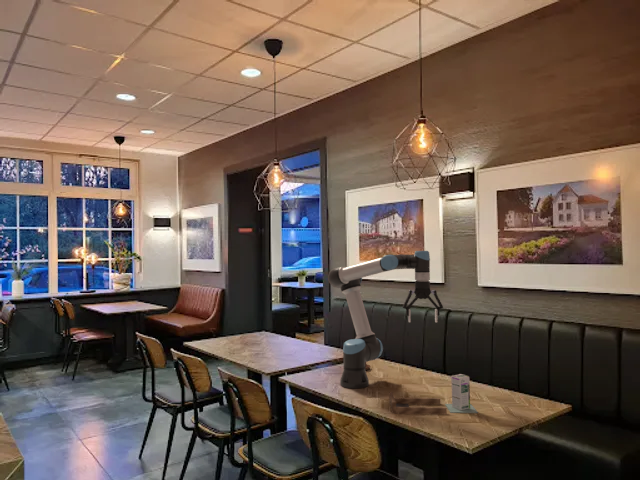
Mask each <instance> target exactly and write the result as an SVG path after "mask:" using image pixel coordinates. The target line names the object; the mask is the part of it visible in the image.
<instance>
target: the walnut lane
mask: <svg viewBox="0 0 640 480" xmlns="http://www.w3.org/2000/svg"><path fill="white" fill-rule="evenodd" d="M388 397H389V398H388V400H389V401H388V403H389V406H390V409H391V413H392V414H399V415H402V414H407V415H408V414H409V415H410V414H411V415H412V414H413V415H417V414H418V415H419V414H420V415H447V410H448V408H447V407H446V406H410V405H441V398H440V397H395V396H394V392H391V391H390V392H389V393H388Z"/></svg>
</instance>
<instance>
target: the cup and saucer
mask: <svg viewBox="0 0 640 480" xmlns="http://www.w3.org/2000/svg"><path fill="white" fill-rule="evenodd" d="M370 368H371V365H369V364H367V362H365V371H367V370H369V369H370Z"/></svg>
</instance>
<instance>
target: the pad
mask: <svg viewBox="0 0 640 480" xmlns="http://www.w3.org/2000/svg"><path fill="white" fill-rule="evenodd" d="M444 405H445V407H446V408H447V410H448V411H449V413H450V414H478V413H479V412H478V411H477V409H476V408H475V406H473V405H472V404H471V403H470V409H465V410H458V409H455V408H453V407H452V403H444Z"/></svg>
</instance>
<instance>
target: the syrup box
mask: <svg viewBox="0 0 640 480" xmlns="http://www.w3.org/2000/svg"><path fill="white" fill-rule="evenodd" d="M450 377H451V378H450V379H451V404H452V407H453V408H455V409H458V410H465V409H470V404H471V391H470V389H471V388H470V387H471V386H470V385H471V384H470V376H469V375H466V374H462V373H459V374H455V375H454V374H453V375H451V376H450Z"/></svg>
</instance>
